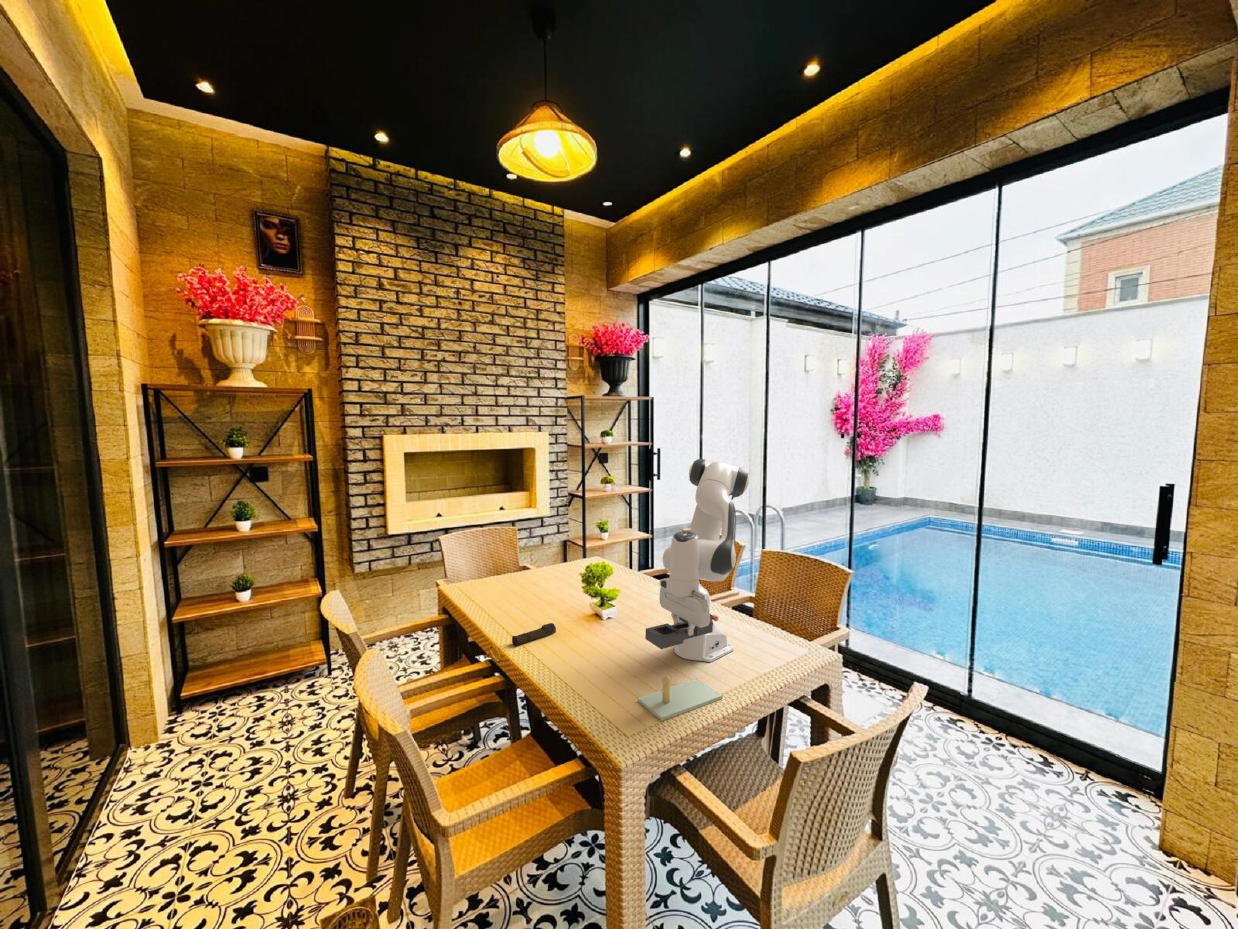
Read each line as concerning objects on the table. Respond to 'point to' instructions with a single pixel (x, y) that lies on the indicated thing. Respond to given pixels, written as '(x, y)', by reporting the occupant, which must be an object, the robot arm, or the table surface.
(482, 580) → the table surface
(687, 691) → the keeper board
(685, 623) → the grey hollow frame
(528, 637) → the hand tool
